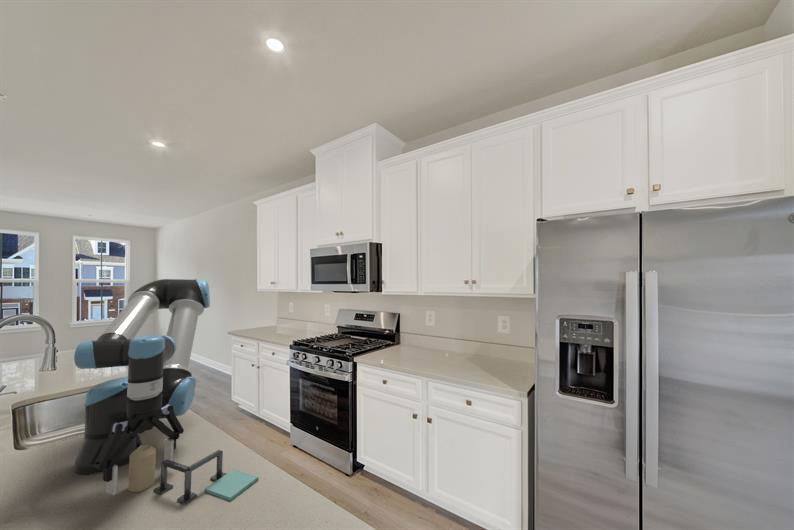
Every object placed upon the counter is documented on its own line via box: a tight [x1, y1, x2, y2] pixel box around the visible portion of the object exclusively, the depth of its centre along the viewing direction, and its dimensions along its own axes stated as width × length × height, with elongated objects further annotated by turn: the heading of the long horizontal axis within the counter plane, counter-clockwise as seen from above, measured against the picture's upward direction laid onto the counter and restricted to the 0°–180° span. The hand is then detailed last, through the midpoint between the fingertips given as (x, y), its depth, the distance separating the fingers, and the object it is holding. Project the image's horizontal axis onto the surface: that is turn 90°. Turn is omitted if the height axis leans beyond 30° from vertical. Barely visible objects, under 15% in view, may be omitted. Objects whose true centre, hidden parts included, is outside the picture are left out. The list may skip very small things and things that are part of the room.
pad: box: [204, 469, 259, 502], centre depth 85 cm, size 9×9×1 cm
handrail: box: [152, 449, 227, 505], centre depth 86 cm, size 12×12×8 cm
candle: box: [127, 444, 157, 493], centre depth 85 cm, size 6×6×10 cm
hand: (142, 476), depth 85 cm, fingers open, 13 cm apart
